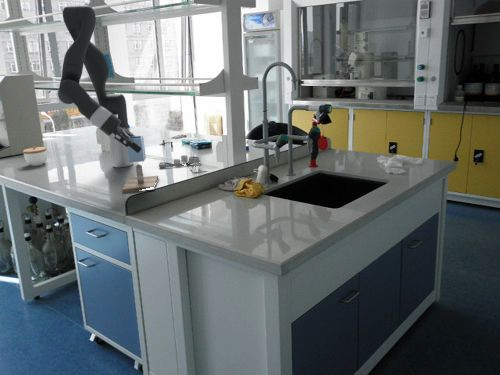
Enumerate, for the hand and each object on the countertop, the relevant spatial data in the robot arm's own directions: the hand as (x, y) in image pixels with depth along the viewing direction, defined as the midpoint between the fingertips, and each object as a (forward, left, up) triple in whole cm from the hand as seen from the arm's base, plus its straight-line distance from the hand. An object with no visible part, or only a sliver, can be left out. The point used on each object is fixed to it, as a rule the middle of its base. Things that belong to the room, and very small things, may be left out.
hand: (140, 149), depth 179 cm
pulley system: (-26, +15, -15) cm, 34 cm away
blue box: (0, -2, -4) cm, 5 cm away
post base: (0, -2, -15) cm, 15 cm away
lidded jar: (-55, -62, -15) cm, 84 cm away
